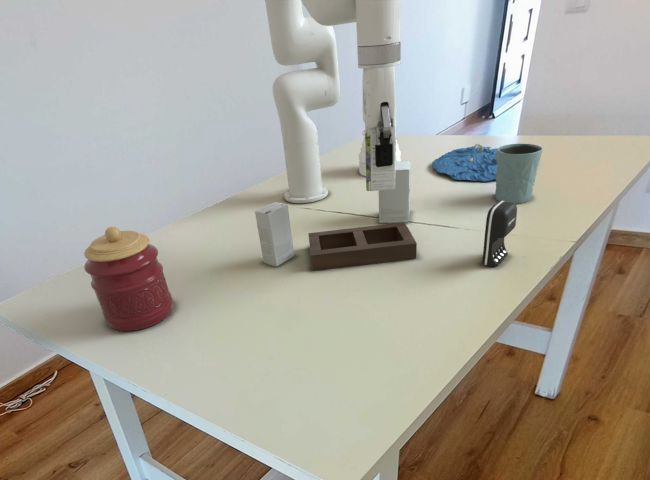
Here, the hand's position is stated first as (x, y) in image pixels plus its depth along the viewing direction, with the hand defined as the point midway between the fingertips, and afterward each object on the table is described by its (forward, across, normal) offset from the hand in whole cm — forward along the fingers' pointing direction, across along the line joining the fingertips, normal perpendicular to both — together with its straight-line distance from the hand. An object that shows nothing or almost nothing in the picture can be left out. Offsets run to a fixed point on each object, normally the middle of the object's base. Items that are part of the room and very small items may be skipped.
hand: (381, 160), depth 98 cm
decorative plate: (+19, -50, +39) cm, 66 cm away
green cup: (+19, -22, +37) cm, 47 cm away
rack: (+19, 0, -5) cm, 20 cm away
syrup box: (+5, 0, 0) cm, 5 cm away
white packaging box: (+19, -18, +6) cm, 27 cm away
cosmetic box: (+19, -1, -23) cm, 30 cm away
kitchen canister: (+19, +16, -50) cm, 56 cm away
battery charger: (+19, +11, +21) cm, 31 cm away
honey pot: (+19, -58, +9) cm, 62 cm away
